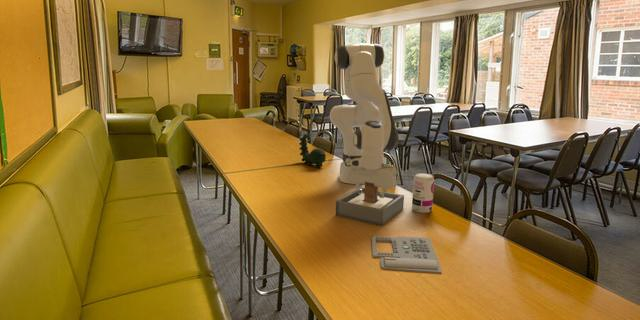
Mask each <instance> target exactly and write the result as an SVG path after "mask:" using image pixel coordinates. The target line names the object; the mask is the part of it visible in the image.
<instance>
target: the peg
mask: <svg viewBox="0 0 640 320" xmlns="http://www.w3.org/2000/svg"><path fill="white" fill-rule="evenodd" d="M364 188H365V190H364V202H368V203H373V204H374V203H376V202H377V195H378V191H379V190H378V189H379V187H376V186H374V183H369V182H365V184H364Z"/></svg>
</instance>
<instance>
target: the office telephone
mask: <svg viewBox="0 0 640 320" xmlns="http://www.w3.org/2000/svg"><path fill="white" fill-rule="evenodd" d="M377 242H381V243H382V242H383V243H391V244H392V248H393V249H392V250H393V252H382V251H381V252H379V251H377ZM371 248H372V249H371V250H372V251H371V253H372V257H373V258H374V259H375V258H376V259H378V258H380V261H379V262H380V269H382V270H386V271H387V270H388V271H389V270H390V271H403V272H412V273H413V272H416V273H430V274H442V273H443V271H442V268H441V265H440V262H439V260H438V257H437V254H436V252H435V249H434V247H433V244H432V240H431V238H430V237H421V236H419V237H417V236H396V237H393V236H377V235H376V236H375V235H372V237H371Z"/></svg>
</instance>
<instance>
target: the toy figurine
mask: <svg viewBox="0 0 640 320" xmlns="http://www.w3.org/2000/svg"><path fill="white" fill-rule="evenodd" d="M307 139H310V135H309V134H308V133H305V134H303V135H302V136H301V137H300V138H299V141H300V142H299V143H298V144H299V146H300V147H299V149H298V150H300V151H301V152H300V153H299V155H300V156H302V158H301V162H303V163H304V165H308V166H311V165H315V167H316V168H317V169H319V168H322V167H323V163H325V162H326V159H327V157H326V156H327V155H326V152H325V151H324V150H323V149H322V148H319V147H317V148H314V149H312V150H311V151H310V152H309V150H308V146H307V145H308V143H307Z"/></svg>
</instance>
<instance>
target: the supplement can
mask: <svg viewBox="0 0 640 320" xmlns="http://www.w3.org/2000/svg"><path fill="white" fill-rule="evenodd" d="M434 189H435V178H434V175H433V174H430V173H421V172H419V173H416V174H415V175H414V178H413V185H412V201H411V202H412V203H411V209H412V211H414V212H416V213H419V214H428V213H431V211H433V204H434Z"/></svg>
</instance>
